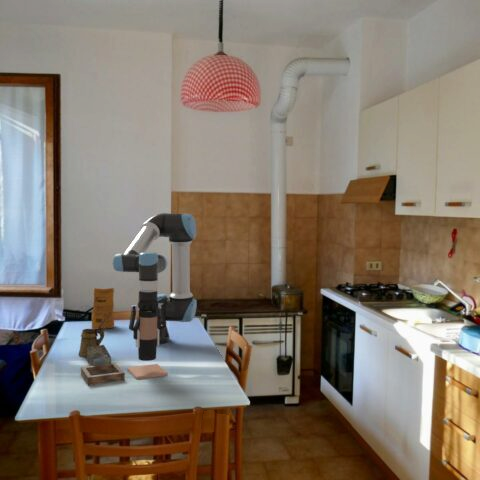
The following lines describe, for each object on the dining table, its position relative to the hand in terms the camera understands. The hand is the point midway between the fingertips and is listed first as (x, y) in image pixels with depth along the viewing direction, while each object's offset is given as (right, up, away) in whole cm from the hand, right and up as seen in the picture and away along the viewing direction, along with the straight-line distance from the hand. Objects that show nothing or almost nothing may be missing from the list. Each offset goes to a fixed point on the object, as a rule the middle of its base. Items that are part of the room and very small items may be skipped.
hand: (147, 345), depth 217 cm
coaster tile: (0, -11, +1) cm, 11 cm away
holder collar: (-17, -11, -7) cm, 21 cm away
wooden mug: (-29, -9, +25) cm, 39 cm away
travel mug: (0, -5, 0) cm, 5 cm away
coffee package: (-39, -5, +79) cm, 88 cm away
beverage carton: (-23, -10, +10) cm, 27 cm away
